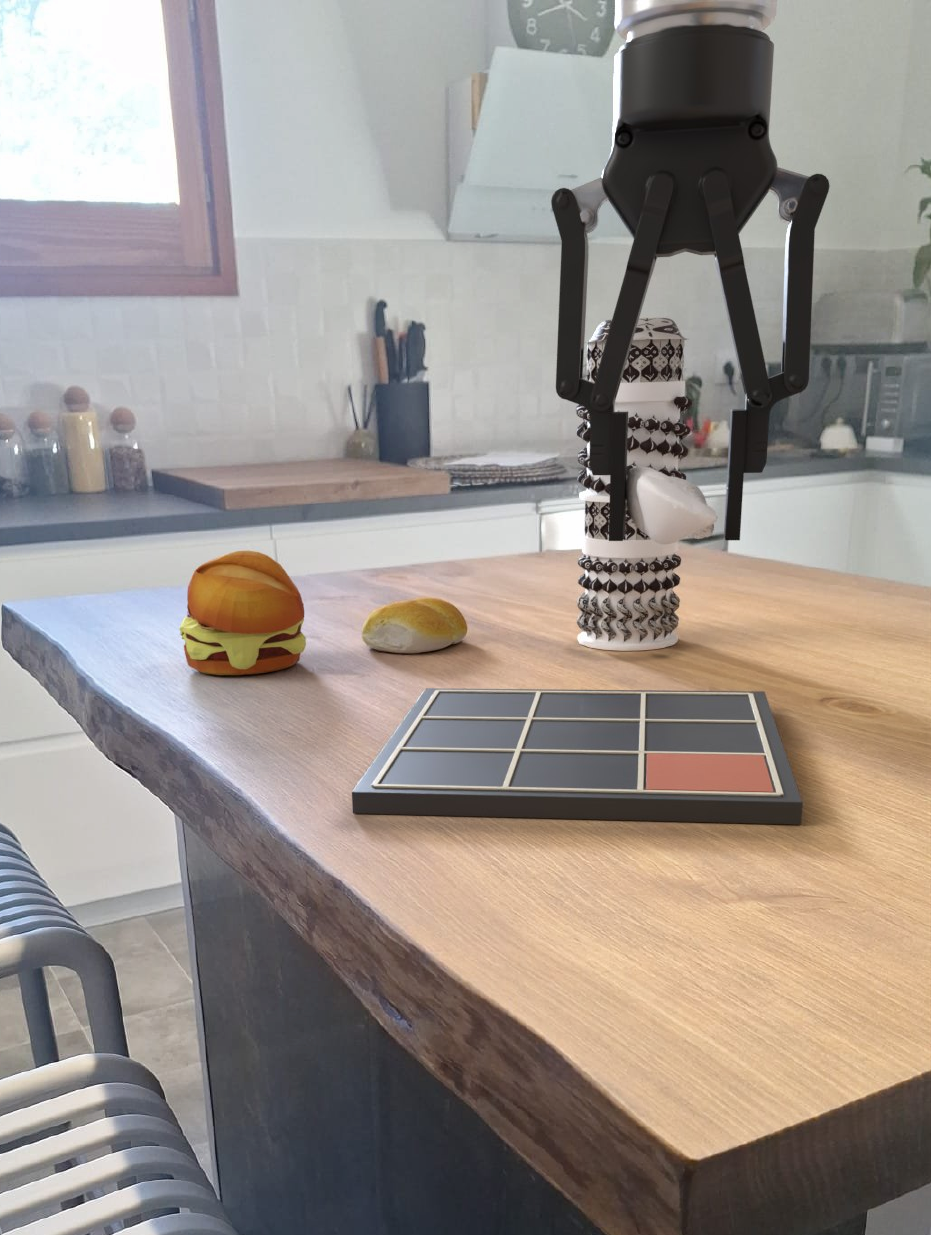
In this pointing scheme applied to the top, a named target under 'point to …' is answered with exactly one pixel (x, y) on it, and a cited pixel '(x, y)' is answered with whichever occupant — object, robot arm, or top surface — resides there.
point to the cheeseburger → (242, 616)
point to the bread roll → (414, 626)
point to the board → (585, 757)
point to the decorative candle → (637, 566)
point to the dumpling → (667, 506)
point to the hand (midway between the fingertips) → (674, 536)
